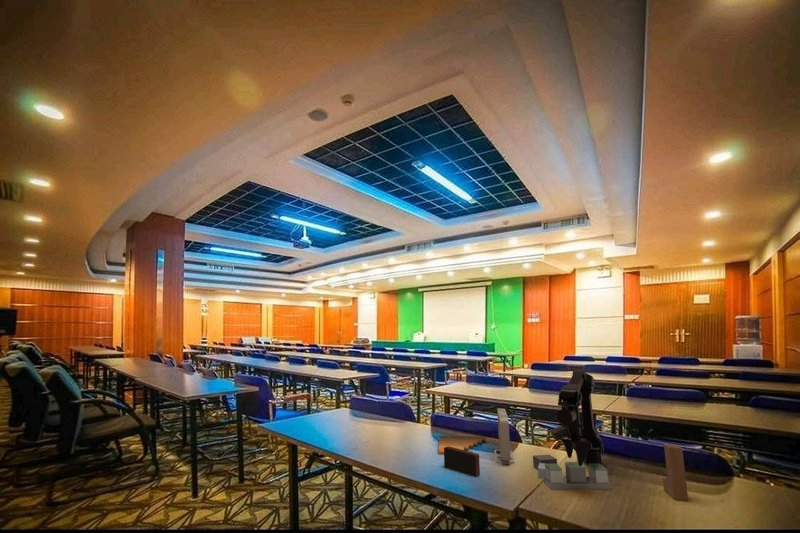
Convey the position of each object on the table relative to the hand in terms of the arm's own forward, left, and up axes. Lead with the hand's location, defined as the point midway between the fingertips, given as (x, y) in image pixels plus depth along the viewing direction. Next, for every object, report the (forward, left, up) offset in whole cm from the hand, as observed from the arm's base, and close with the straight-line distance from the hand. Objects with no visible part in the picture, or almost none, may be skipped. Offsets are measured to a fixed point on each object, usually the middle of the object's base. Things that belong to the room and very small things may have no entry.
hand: (574, 461), depth 150 cm
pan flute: (+37, -48, -10) cm, 61 cm away
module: (0, 0, -7) cm, 7 cm away
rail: (0, 0, -9) cm, 9 cm away
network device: (+19, -34, -9) cm, 40 cm away
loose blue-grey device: (+8, -10, -9) cm, 16 cm away
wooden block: (-33, +9, -9) cm, 35 cm away
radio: (+43, -16, -9) cm, 47 cm away
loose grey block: (+5, -18, -9) cm, 21 cm away
